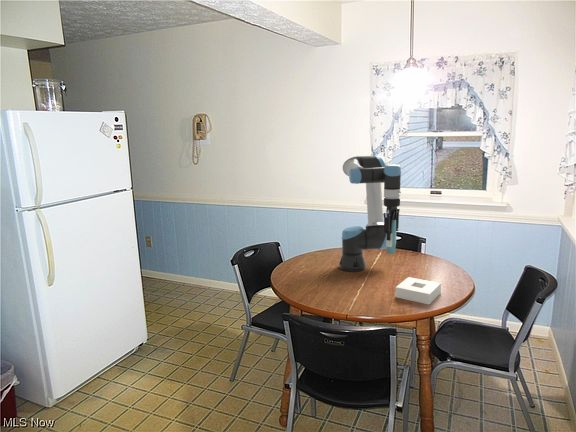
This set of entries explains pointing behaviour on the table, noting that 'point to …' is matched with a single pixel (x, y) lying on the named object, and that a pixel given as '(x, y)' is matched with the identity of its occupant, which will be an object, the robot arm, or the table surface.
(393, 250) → the peg
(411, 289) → the socket board
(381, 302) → the table surface
